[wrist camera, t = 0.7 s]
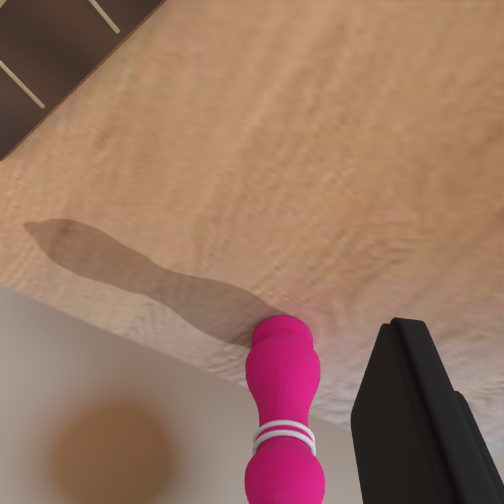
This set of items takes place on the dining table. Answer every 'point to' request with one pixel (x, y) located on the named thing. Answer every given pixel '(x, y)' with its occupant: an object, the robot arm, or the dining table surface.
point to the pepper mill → (283, 415)
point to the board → (55, 54)
